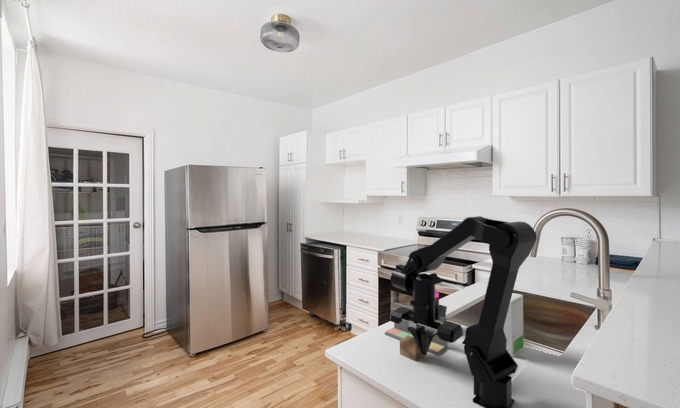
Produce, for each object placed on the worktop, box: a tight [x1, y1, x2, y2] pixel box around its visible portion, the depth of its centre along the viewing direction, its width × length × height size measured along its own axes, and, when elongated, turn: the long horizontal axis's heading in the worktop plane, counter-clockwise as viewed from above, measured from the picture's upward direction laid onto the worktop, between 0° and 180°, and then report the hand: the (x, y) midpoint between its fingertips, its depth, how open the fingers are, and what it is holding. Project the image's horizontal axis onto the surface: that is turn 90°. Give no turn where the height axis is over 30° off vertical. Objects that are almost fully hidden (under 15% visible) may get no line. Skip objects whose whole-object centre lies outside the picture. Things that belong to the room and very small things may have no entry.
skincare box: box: [503, 292, 525, 358], centre depth 88 cm, size 8×7×16 cm
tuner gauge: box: [384, 302, 448, 356], centre depth 93 cm, size 18×6×9 cm, turn 44°
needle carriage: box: [399, 335, 424, 362], centre depth 86 cm, size 5×6×4 cm
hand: (424, 354), depth 83 cm, fingers closed
